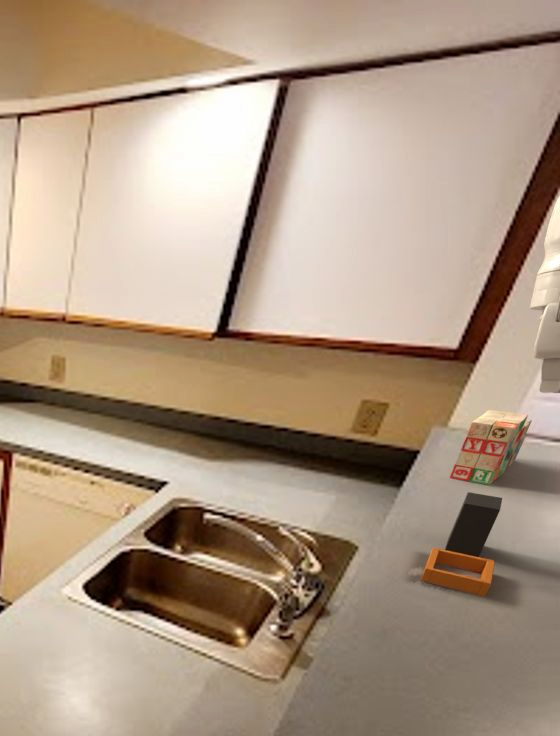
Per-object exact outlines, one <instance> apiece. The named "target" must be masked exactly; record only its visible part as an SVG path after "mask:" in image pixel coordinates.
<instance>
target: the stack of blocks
mask: <svg viewBox="0 0 560 736" xmlns="http://www.w3.org/2000/svg"><path fill="white" fill-rule="evenodd" d="M528 416H529V414H525V413H517V412H515V413H514V412H510V411H509V412H508V411H500V410H493V409H488V410H487V411H485V412H484V413H483V414H482V415H480V416H478V418H475V419H474V420H473V421H472V422H471V424H470V426H469V429H468V431H467V434H466V436H465V438H464V441H463V443H462V446H461V448H460V451H459V454H458V457H457V460H456V461H455V463H454V465H453V468H452V471H451V473H450V475H449V478H450V479H454V480H459V481H464V482H470V483H475V484H479V485H480V484H481V485H486V486H490V484H492V483H493V482H494V481H495V480H497V479H498V478H499V477H500V476H498V477H497V474H498V472H499V470H500V468H501V466H502V464H503V462H504V459H505V457H506V454H507V452H508V450H509V448H510V446H513V449H514V451H513V454H512V456H511V458H510V460H509V462H508V464H507V466H506V469H507V468H509V467H510V466H511V465H512V464H513V463H514V462H515V461H516V460H517V457H518V455H519V452H520V450H521V448H522V446H523V443H524V441H525V440H526V437H527V433H528V431H529V428H530V426H531V424H532V422H533V421H532V419H528V418H529V417H528Z"/></svg>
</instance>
